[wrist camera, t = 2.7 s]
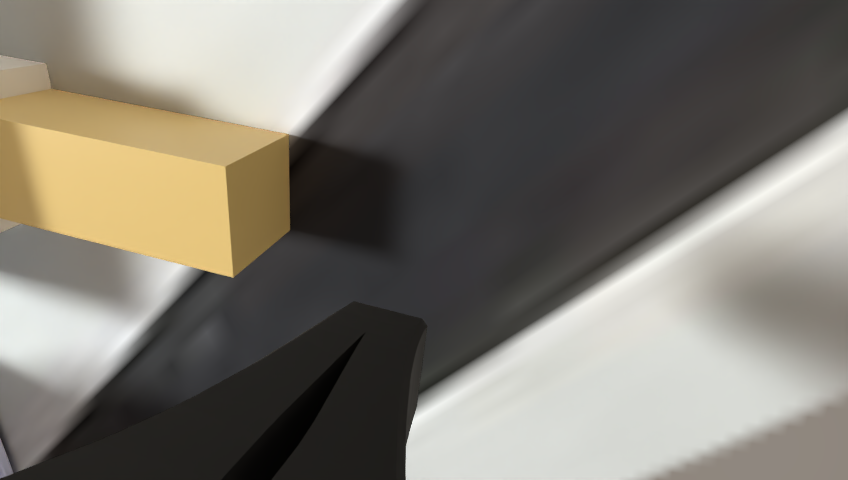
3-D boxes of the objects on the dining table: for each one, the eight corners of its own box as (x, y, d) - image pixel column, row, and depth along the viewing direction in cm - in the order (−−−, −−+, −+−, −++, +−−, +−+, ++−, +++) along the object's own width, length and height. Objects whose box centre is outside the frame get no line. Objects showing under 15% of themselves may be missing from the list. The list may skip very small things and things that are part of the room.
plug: (290, 251, 16) (185, 347, 12) (-19, 177, 19) (-200, 236, 14) (288, 107, 14) (160, 161, 10) (-58, 44, 17) (-285, 65, 12)
